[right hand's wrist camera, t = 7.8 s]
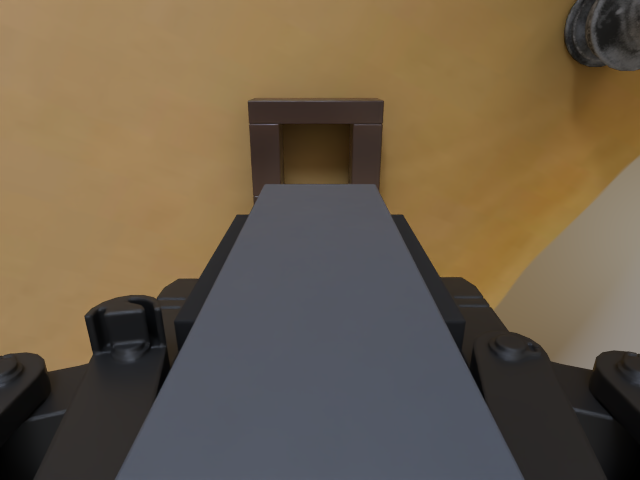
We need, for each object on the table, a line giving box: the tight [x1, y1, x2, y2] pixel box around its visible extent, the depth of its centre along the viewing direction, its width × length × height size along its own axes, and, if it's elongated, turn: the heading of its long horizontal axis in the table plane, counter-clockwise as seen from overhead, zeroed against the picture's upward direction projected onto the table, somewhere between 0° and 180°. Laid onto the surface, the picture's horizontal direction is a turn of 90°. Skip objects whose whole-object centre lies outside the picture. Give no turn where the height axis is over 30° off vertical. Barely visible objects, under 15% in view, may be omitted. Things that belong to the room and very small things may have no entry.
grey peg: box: [115, 184, 525, 480], centre depth 10 cm, size 4×4×12 cm
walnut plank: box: [248, 98, 384, 204], centre depth 32 cm, size 31×9×10 cm, turn 0°
